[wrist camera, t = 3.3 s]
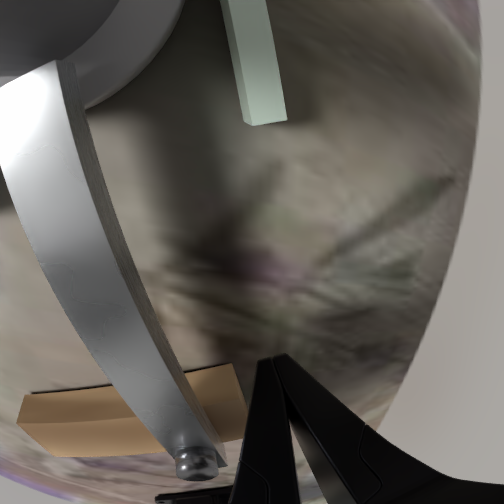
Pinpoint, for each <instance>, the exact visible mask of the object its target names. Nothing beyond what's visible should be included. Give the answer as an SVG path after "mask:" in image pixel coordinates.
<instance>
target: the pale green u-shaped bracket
mask: <svg viewBox="0 0 504 504" xmlns="http://www.w3.org/2000/svg"><path fill="white" fill-rule="evenodd" d="M220 3H221V8H222V13H223V18H224V23H225V28H226V33H227V38H228V43H229V48H230V53H231V58H232V64H233V69H234V74H235V79H236V84H237V89H238V95H239V100H240V105H241V110H242V116H243V121H244V122H246V123H247V124H249V125H251V126H256V125H261V124H267V123H273V122H279V121H285V120H287V115H286V109H285V103H284V97H283V91H282V85H281V79H280V73H279V67H278V62H277V56H276V51H275V46H274V40H273V35H272V30H271V25H270V20H269V15H268V10H267V5H266V1H265V0H220Z"/></svg>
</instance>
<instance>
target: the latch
mask: <svg viewBox="0 0 504 504" xmlns="http://www.w3.org/2000/svg"><path fill="white" fill-rule="evenodd" d="M0 166H1V169H2V172H3V175H4V178H5V181H6V184H7V187H8V190H9V192H10V195H11V198H12V201H13V203H14V206H15V209H16V211H17V214H18V216H19V219H20V221H21V224H22V226H23V228H24V231H25V233H26V235H27V238H28V240H29V242H30V244H31V247H32V249H33V251H34V253H35V255H36V257H37V259H38V262H39V264H40V266H41V268H42V270H43V272H44V274H45V276H46V278H47V280H48V282H49V284H50V285H51V287H52V289H53V291H54V293H55V295H56V297H57V298H58V300H59V302H60V304H61V306H62V307H63V309H64V311H65V313H66V314H67V316H68V318H69V320H70V321H71V323H72V325H73V326H74V328H75V330H76V331H77V333H78V334H79V336H80V338H81V339H82V341H83V342H84V344H85V345H86V347H87V349H88V350H89V352H90V353H91V355H92V356H93V358H94V359H95V361H96V362H97V364H98V365H99V366H100V368H101V369H102V371H103V372H104V374H105V375H106V376H107V378H108V379H109V381H110V382H111V383H112V385H113V386H114V387H115V389H116V390H117V391H118V393H119V394H120V395H121V397H122V398H123V399H124V401H125V402H126V403H127V404H128V406H129V407H130V408H131V410H132V411H133V412H134V413H135V415H136V416H137V417H138V418H139V419H140V421H141V422H142V423H143V424H144V425H145V427H146V428H147V429H148V430H149V431H150V432H151V434H152V435H153V436H154V437H155V438H156V439H157V440H158V442H159V443H160V444H161V445H162V446H163V447H164V448H165V449H166V450H167V452H168V453H169V454H170V455H171V456H172V457H173V458H174V459H175V462H176V475H177V477H179V478H180V479H183V480H187V481H205V480H210V479H213V478H215V477H216V476H217V475H218V474H219V473H218V468H220V467H226V466H228V465H227V459H226V453H225V448H224V444H223V442H222V441H221V439H220V437H219V436H218V434H217V432H216V431H215V429H214V427H213V426H212V424H211V422H210V420H209V419H208V417H207V415H206V413H205V411H204V410H203V408H202V406H201V404H200V402H199V401H198V399H197V397H196V395H195V393H194V391H193V389H192V387H191V386H190V384H189V382H188V380H187V378H186V376H185V374H184V372H183V370H182V368H181V366H180V364H179V362H178V360H177V358H176V356H175V354H174V352H173V350H172V348H171V346H170V344H169V342H168V340H167V338H166V335H165V333H164V331H163V329H162V327H161V325H160V322H159V320H158V318H157V316H156V314H155V311H154V309H153V307H152V305H151V302H150V300H149V298H148V295H147V293H146V291H145V288H144V286H143V284H142V281H141V279H140V276H139V274H138V271H137V269H136V266H135V264H134V261H133V259H132V256H131V254H130V251H129V249H128V246H127V243H126V241H125V238H124V235H123V233H122V230H121V227H120V224H119V221H118V219H117V216H116V213H115V210H114V207H113V204H112V201H111V198H110V195H109V192H108V189H107V186H106V183H105V180H104V177H103V173H102V170H101V167H100V164H99V160H98V157H97V153H96V150H95V146H94V143H93V139H92V136H91V132H90V128H89V124H88V121H87V117H86V113H85V109H84V104H83V100H82V96H81V92H80V87H79V82H78V78H77V73H76V68H75V63H70V62H65V61H60V60H53V61H51V62H49V63H47V64H45V65H43V66H41V67H39V68H37V69H35V70H33V71H31V72H29V73H27V74H25V75H23V76H21V77H19V78H17V79H16V80H14V81H12V82H10V83H9V84H7V85H5V86H3V87H2V88H0Z"/></svg>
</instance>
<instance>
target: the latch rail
mask: <svg viewBox="0 0 504 504" xmlns="http://www.w3.org/2000/svg"><path fill="white" fill-rule="evenodd" d="M185 376H186V378H187V380H188V382H189V384H190V386H191V387H192V389H193V391H194V393H195V395H196V397H197V399H198V401H199V402H200V404H201V406H202V408H203V410H204V411H205V413H206V415H207V417H208V419H209V420H210V422H211V424H212V426H213V427H214V429H215V431H216V432H217V434H218V436H219V437H220V439H221V441H222V442H228V441H233V440H238V439H242V438H243V437H244V432H245V427H246V421H247V416H248V409H247V404H246V402H245V399H244V396H243V393H242V390H241V388H240V385H239V382H238V379H237V376H236V373H235V370H234V368H233V365H232V363H230V364H226V365H222V366H217V367H213V368H208V369H204V370H199V371H194V372H190V373H185ZM17 424H18V425H19V426H20V427H21V428H22V429H23V430H24V431H25V432H26V433H27V434H28V435H29V436H31V437H32V438H33V439H34V440H35V441H36V442H37V443H39V444H40V445H41V446H42V447H43V448H44V449H46V450H47V451H48V452H49V453H51V454H52V455H53V456H59V457H99V456H122V455H136V454H147V453H157V452H166V451H167V450H166V449H165V448H164V447H163V446H162V445H161V444H160V443H159V442H158V440H157V439H156V438H155V437H154V436H153V435H152V434H151V432H150V431H149V430H148V429H147V428H146V427H145V425H144V424H143V423H142V422H141V421H140V419H139V418H138V417H137V416H136V415H135V413H134V412H133V411H132V410H131V408H130V407H129V406H128V404H127V403H126V402H125V401H124V399H123V398H122V397H121V395H120V394H119V393H118V391H117V390H116V389H115V387H114V386H108V387H101V388H93V389H85V390H76V391H66V392H56V393H44V394H30V395H25V396H24V399H23V402H22V406H21V409H20V412H19V416H18V419H17Z"/></svg>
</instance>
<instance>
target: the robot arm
mask: <svg viewBox="0 0 504 504" xmlns="http://www.w3.org/2000/svg"><path fill="white" fill-rule="evenodd" d="M289 422H290V424H289ZM290 425H291V427H292V430H293V432H294V434H295V436H296V438H297V440H298V442H299V445H300V447H301V449H302V451H303V453H304V455H305V457H306V459H307V462H308V464H309V466H310V468H311V470H312V472H313V474H314V476H315V478H316V480H317V482H318V484H319V487H320V489H321V491H322V493H323V495H324V497H325V499H326V501H327V503H328V504H504V485H503V484H492V483H483V482H475V481H468V480H461V479H456V478H452V477H449V476H447V475H445V474H442V473H440V472H438V471H436V470H434V469H432V468H431V467H429V466H427V465H426V464H424V463H422V462H421V461H419V460H417V459H416V458H414V457H412V456H410V455H409V454H407V453H405V452H404V451H402V450H401V449H399V448H398V447H396V446H394V445H393V444H391V443H390V442H389V441H387V440H386V439H385V438H383V437H382V436H381V435H380V434H378V433H377V432H376V431H375V430H373V429H372V428H371V427H370V426H369V425H365V422H364V421H363V420H361V419H360V418H359V417H358V416H357V415H356V414H354V413H353V412H352V411H351V410H350V409H349V408H347V407H346V406H345V405H344V404H343V403H342V402H340V401H339V400H338V399H337V398H336V397H335V396H334V395H332V394H331V393H330V392H329V391H328V390H327V389H326V388H325V387H323V386H322V385H321V384H320V383H319V382H318V381H317V380H316V379H314V378H313V377H312V376H311V375H310V374H309V373H308V372H307V371H306V370H304V369H303V368H302V367H301V366H300V365H299V364H298V363H297V362H296V361H295V360H293V359H292V358H291V357H290V356H289V355H288V354H286V353H283V354H279V355H276V356H273V358H271V357H268V358H264V359H260V360H258V362H257V366H256V372H255V378H254V383H253V389H252V394H251V400H250V405H249V411H248V416H247V421H246V427H245V432H244V437H243V442H242V447H241V453H240V458H239V461H240V462H239V463H238V467H237V472H236V476H235V481H234V485H233V487H231V488H225V489H219V490H212V491H205V492H198V493H189V494H180V495H168V496H156V497H155V503H157V504H302V503H301V497H300V490H299V483H298V476H297V469H296V463H295V456H294V449H293V443H292V436H291V430H290Z"/></svg>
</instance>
